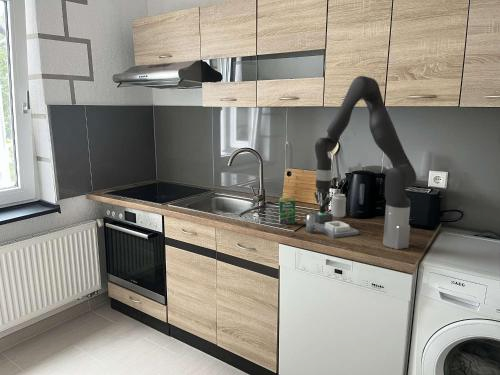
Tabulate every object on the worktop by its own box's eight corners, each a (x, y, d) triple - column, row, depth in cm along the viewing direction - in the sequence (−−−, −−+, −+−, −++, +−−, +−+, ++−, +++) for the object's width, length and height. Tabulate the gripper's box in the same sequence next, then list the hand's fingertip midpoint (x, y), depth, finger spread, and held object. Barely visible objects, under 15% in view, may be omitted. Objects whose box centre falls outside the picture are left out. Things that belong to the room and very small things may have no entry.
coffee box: (278, 224, 182) (279, 198, 179) (278, 222, 185) (278, 197, 182) (295, 224, 182) (295, 198, 179) (294, 222, 185) (295, 197, 182)
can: (335, 218, 192) (336, 196, 190) (328, 214, 199) (329, 193, 197) (347, 217, 194) (349, 195, 192) (340, 213, 201) (341, 192, 199)
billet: (316, 232, 169) (316, 216, 168) (308, 233, 168) (309, 216, 166) (311, 230, 173) (312, 213, 171) (304, 231, 171) (304, 214, 170)
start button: (328, 219, 181) (328, 213, 180) (320, 220, 179) (320, 214, 179) (323, 217, 185) (323, 211, 184) (315, 217, 183) (316, 212, 183)
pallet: (358, 234, 167) (359, 222, 166) (333, 237, 162) (333, 226, 161) (326, 219, 191) (327, 209, 190) (303, 222, 186) (303, 211, 185)
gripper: (338, 180, 174) (336, 215, 177) (322, 176, 186) (321, 209, 189) (324, 181, 171) (323, 217, 174) (310, 176, 183) (308, 210, 186)
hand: (322, 212), depth 182 cm, fingers closed
